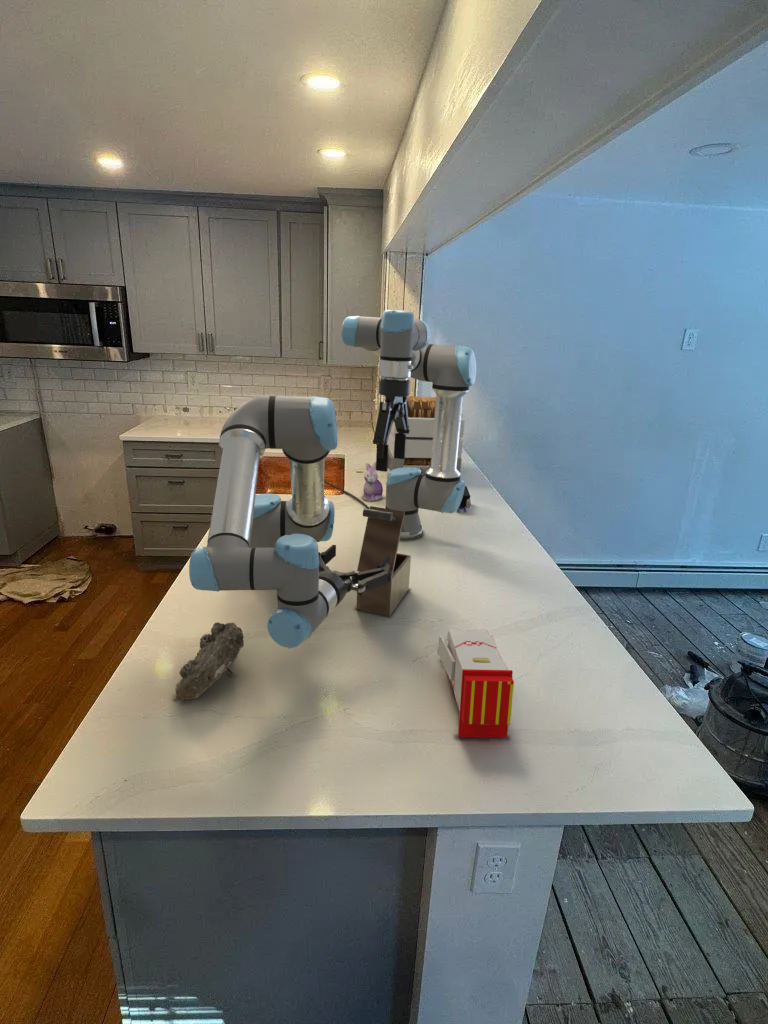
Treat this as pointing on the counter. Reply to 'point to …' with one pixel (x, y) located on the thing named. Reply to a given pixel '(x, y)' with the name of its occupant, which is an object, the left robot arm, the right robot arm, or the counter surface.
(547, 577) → the counter surface
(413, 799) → the counter surface
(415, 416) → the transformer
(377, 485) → the figurine
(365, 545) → the lid
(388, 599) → the chest
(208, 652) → the fossil
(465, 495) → the figurine character
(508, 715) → the toy
